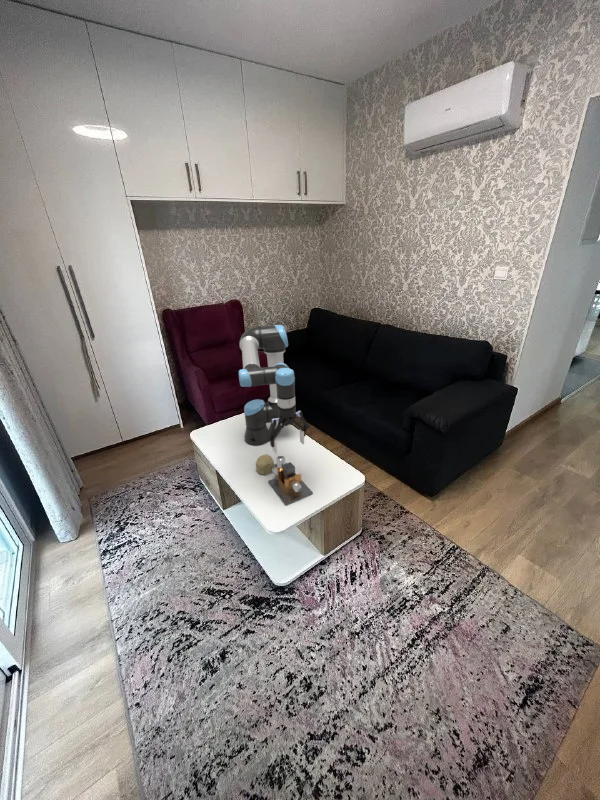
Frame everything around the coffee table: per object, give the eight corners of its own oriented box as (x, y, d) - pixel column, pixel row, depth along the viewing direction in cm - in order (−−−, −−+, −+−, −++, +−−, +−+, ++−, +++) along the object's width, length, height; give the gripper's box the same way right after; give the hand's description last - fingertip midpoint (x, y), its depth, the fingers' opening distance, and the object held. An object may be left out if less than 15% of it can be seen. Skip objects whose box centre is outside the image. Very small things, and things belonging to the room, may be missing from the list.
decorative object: (262, 482, 164) (271, 471, 158) (248, 467, 165) (256, 456, 160) (272, 472, 171) (281, 461, 166) (259, 459, 173) (267, 448, 167)
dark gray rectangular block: (284, 485, 154) (282, 464, 149) (291, 482, 156) (290, 462, 150) (288, 490, 151) (286, 469, 145) (295, 487, 152) (294, 466, 147)
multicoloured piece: (265, 478, 160) (263, 458, 155) (290, 469, 166) (289, 449, 161) (285, 505, 143) (283, 484, 138) (312, 494, 149) (312, 473, 144)
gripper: (262, 416, 129) (266, 460, 138) (316, 401, 139) (317, 443, 149) (255, 409, 135) (259, 451, 144) (307, 394, 145) (308, 435, 155)
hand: (288, 447), depth 147 cm, fingers open, 13 cm apart
